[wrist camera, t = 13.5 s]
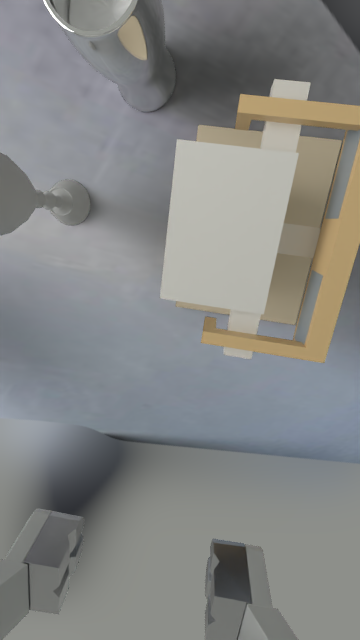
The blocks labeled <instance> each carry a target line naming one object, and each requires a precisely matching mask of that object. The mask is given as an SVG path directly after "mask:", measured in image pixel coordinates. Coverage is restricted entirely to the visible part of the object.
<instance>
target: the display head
mask: <svg viewBox="0 0 360 640" xmlns="http://www.w3.org/2000/svg"><path fill="white" fill-rule="evenodd" d="M310 84H311V82H300V81H290V80H279V79H274V82H273V84H272V87H271V91H270V97H275V98H285V99H295V100H305V101H307V98H308V93H309V89H310ZM301 126H302V125H298V124H288V123H279V122H270V121H265V124H264V130H263V132H260V131H251V130H248V131H246V130H237V129H233V128H224V127H215V126H205V125H198V132H197V140H196V141H188V140H179V139H177V145H176V154H175V163H174V172H173V181H172V191H171V200H170V209H169V218H168V227H167V236H166V246H165V255H164V264H163V273H162V282H161V292H160V299H167V300H173V301H176V307H182V308H189V309H195V310H202V311H208V312H215V313H221V314H227V315H230V316H229V321H228V327H227V330H230V331H236V332H242V333H248V334H255V335H257V330H258V326H259V321H260V320H266V321H272V322H279V323H285V324H292V325H295V324H296V320H297V316H298V312H299V308H300V304H301V300H302V296H303V292H304V288H305V285H306V281H307V277H308V273H309V269H310V265H311V261H312V258H314V254H315V250H316V246H317V242H318V238H319V234H320V230H321V228H320V225H321V221H322V217H323V213H324V210H325V206H326V202H327V198H328V194H329V190H330V186H331V182H332V178H333V174H334V170H335V166H336V162H337V158H338V154H339V150H340V146H341V142H342V140H334V139H325V138H315V137H306V136H299V135H300V130H301ZM252 353H253V351H247V350H241V349H235V348H229V347H224V355H228V356H234V357H240V358H246V359H251V358H252Z"/></svg>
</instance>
